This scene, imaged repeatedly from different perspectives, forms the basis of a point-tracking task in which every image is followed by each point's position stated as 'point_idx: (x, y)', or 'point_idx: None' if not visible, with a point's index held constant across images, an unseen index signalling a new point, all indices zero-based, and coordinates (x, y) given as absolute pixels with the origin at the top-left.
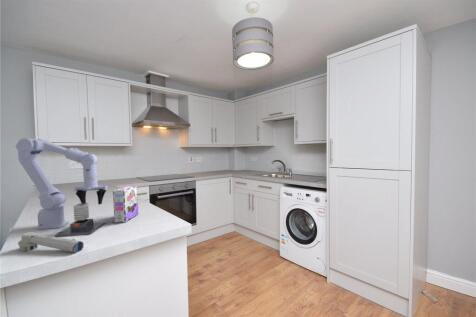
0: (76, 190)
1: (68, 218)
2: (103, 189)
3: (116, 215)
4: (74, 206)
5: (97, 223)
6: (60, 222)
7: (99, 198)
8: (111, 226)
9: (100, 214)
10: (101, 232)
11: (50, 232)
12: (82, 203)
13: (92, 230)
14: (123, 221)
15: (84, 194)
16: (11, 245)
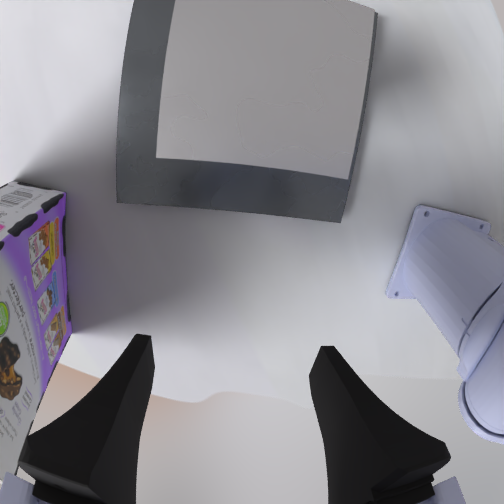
0: (441, 492)
1: (394, 357)
2: (33, 491)
3: (23, 206)
4: (353, 6)
5: (159, 166)
6: (425, 247)
7: (106, 385)
8: (59, 118)
9: (250, 386)
10: (86, 12)
11: (433, 134)
12: (274, 165)
13: (136, 6)
14: (14, 183)
15: (339, 471)
16: (496, 28)
